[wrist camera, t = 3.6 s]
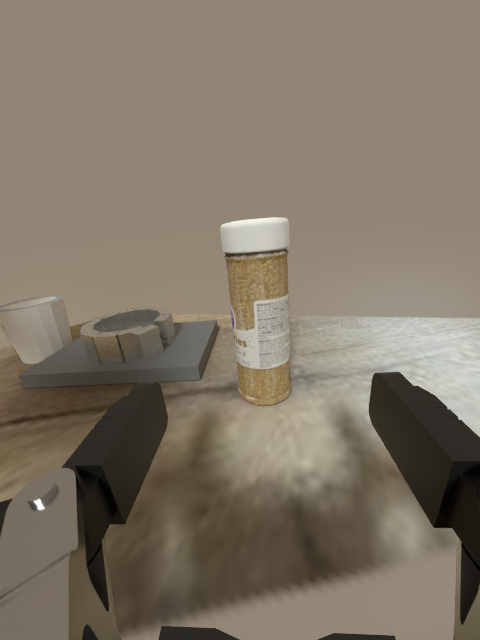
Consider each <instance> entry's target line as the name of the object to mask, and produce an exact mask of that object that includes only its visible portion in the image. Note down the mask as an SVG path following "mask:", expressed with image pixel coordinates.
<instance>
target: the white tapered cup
mask: <svg viewBox="0 0 480 640" xmlns="http://www.w3.org/2000/svg"><path fill="white" fill-rule="evenodd" d="M0 326H1V327H2V329H3V331H4V332H5V334H6V336H7V337H8V339H9V340H10V342H11V344H12V345H13V347H14V349H15V350H16V352H17V353H18V355H19V357H20V358H21V360H22V362H23V363H26V364H36V363H39V362H41V361H42V360H44V359H46V358H47V357H49V356H50V355H52V354H54V353H55V352H57V351H58V350H60V349H62V348H63V347H65V346H66V345H68V344H70V343H71V342H73V339H72V335H71V331H70V327H69V322H68V318H67V314H66V310H65V306H64V302H63V298H62V296H45V297H37V298H31V299H26V300H21V301H17V302H13V303H9V304H6V305H3V306H0Z"/></svg>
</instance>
